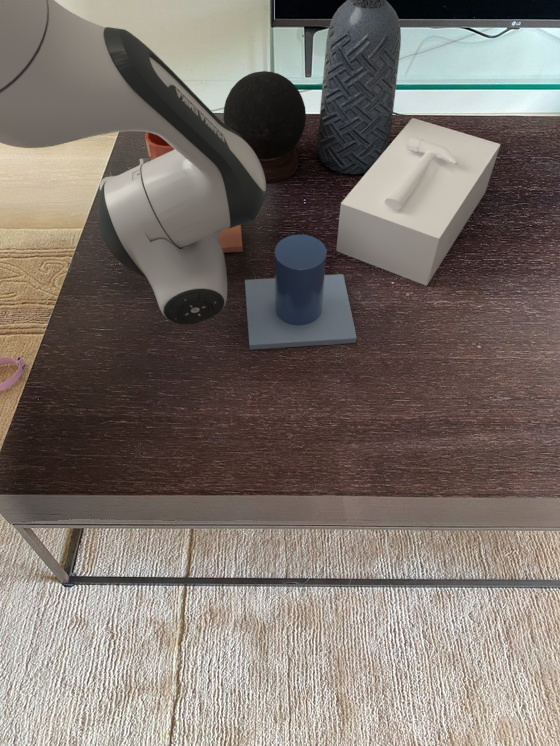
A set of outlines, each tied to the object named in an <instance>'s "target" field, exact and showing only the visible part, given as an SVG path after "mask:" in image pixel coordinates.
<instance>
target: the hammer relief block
mask: <svg viewBox="0 0 560 746" xmlns="http://www.w3.org/2000/svg"><path fill="white" fill-rule="evenodd" d="M500 147H501V143H498V142H494V141H492V140H488V139H484V138H481V137H478V136H475V135H471V134H469V133H465V132H462V131H458V130H454V129H451V128H448V127H444V126H441V125H438V124H434V123H431V122H428V121H425V120H421V119H418V118H415V117H412V118H411V119H410V120H409V121H408V122H407V124H406V125H405V126H404V127H403V128H402V130H401V131H400V132H399V133H398V134H397V136H396V137H395V138H394V139H393V140H392V142H391V143H389V146H388V148H387V149H386V150H385V151H384V152H383V154H382V155H381V156H380V157H379V158H378V160H377V161H376V162H375V163H374V164H373V165H372V167H371V168H370V169H369V170H368V171H367V173H364V175H363V176H362V177H361V178H360V179H359V181H358V182H357V183H356V184H355V185H354V186H353V188H352V189H351V190H350V192H349V193H347V195H346V196H345V197H344V198H343V200H342V201H341V202H340V206H339V218H338V227H337V228H338V229H337V239H336V249H335V251H336V252H338V253H340V254H343V255H345V256H348V257H351V258H353V259H356V260H359V261H361V262H364V263H366V264H368V265H372V266H373V267H377V268H379V269H382V270H383V271H384V270H385V271H387V272H389V273H392V274H395V275H397V276H400V277H402V278H405V279H408V280H410V281H413V282H415V283H418V284H420V285H423V286H426V287H427V286H428V285H429V283H430V281H431V280H432V278H433V277H434V275H435V274H436V271H437V270H438V269H439V267H441V264H442V262H443V261H444V259H445V258H446V256H447V254H448V253H449V252H450V250H451V248H452V246H453V245H454V243H455V241H456V240H457V238H458V237H459V235H460V234H461V232H462V230H463V229H464V227H465V226H466V224H467V223H468V222H469V219H470V218H471V216H472V215H473V213H474V211H475V210H476V208H477V206H479V203H480V202H481V200H482V199H483V197H484V195H485V194H486V192H487V189H488V186H489V183H490V180H491V177H492V173H493V170H494V166H495V163H496V161H497V157H498V154H499V152H500Z"/></svg>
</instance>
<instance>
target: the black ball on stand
mask: <svg viewBox="0 0 560 746" xmlns="http://www.w3.org/2000/svg"><path fill="white" fill-rule="evenodd" d="M306 112H307V111H306V106H305V102H304V99H303V96H302V95H301V92H300V90H299V89H298V88H297V87H296V85H295V84H294V83H293V82H292V81H291V80H290V79H289V78H287V77H286V76H284V75H282V74H280V73H277V72H274V71H268V70H262V71H255V72H251V73H248V74H247V75H244V76H243V77H242V78H241V79H239V80H238V81H237V82H236V83H235V84H234V85H233V86H232V88H231V89H230V90H229V93H228V95H227V97H226V99H225V102H224V106H223V123H224V124H225V125H226V126H228V127H229V128H231V129H232V130H234V131H235V132H237V133H238V134H239V135H240V136H241V137H242V138H243V139H244V140H245V142H247V144H248V145H249V146H250V147H251V148H252V149H253V151H254V152H255V154H256V156H257V157H258V159H259V161H260V164H261V166H262V169H263V172H264V175H265V180H266V184H270V183H276V182H281V181H283V180H287V179H288V178H289V177H291V176H293V175H294V174H296V171H297V170H298V169H299V155H298V152H297V150H296V149H294V148H295V147H296V146H297V144H298V143H299V142H300V140H301V138H302V136H303V134H304V130H305V128H306V121H307V113H306Z"/></svg>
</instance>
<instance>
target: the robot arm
mask: <svg viewBox="0 0 560 746" xmlns="http://www.w3.org/2000/svg"><path fill="white" fill-rule="evenodd" d="M124 132H143V133H144V132H145V133H146V132H150V133H153V134H156V135H158V136H160V137H161V138H162V139H164V140H165V141H166V142H167V143H168V144H169V145H171V146H172V147H173V148H174V150H172V151H170V152H168V153H166V154H164V155H162V156H159V157H157V158H155V159H153V160H151V161H150V159H149V157H147V158H146V157H145V158H144V157H143V158H139V165H137V166H135V167H132V168H130V169H128V170H126V171H124V172H123V173H120V174H118V175H112V176H111V175H110V176H105V177H103V178H102V179H101V180H100V181H99V182H98V183H99V186H98V187H99V194H98V200H97V211H96V212H97V213H96V215H97V223H98V227H99V231H100V235H101V237H102V239H103V241H104V244H105V245H106V247H107V249H108V250H109V251H110V253H111V254H112V255H113V257H114V258H116V260H117V261H118V262H119V263H120V264H122V265H123V266H124V267H126V268H127V269H129V270H130V271H132V272H134V273H135V274H137V275H139V276H141V277H143V278H145V279H147V281H148V282H149V285H150V287H151V289H152V291H153V294H154V297H155V299H156V302H157V305H158V308H159V310H160V312H161V314H162V316H164V317H165V319H166V320H168V321H169V322H171V323H174V324H178V325H195V324H198V323H201V322H205V321H207V320H209V319H211V318H214V317H215V316H217V315H218V314H220V313H221V312H222V310H223V309H224V308H225V306H226V303H227V299H228V275H227V274H228V273H227V266H226V258H225V253H223V250H222V248H221V246H220V244H219V238H220V237H219V232H220V231H222V230H224V229H226V228H232V227H235V226H238V225H241V226H242V225H244V224H247V223H249V222H253V221H255V219H256V218H257V216H258V215H259V212H260V210H261V209H262V207H263V205H264V203H265V200H266V197H267V193H268V187H267V183H266V180H265V175H264V172H263V169H262V166H261V164H260V161H259V159H258V157H257V156H256V154H255V152H254V151H253V149H252V148H251V147H250V146H249V145H248V144H247V142H245V140H244V139H243V138H242V137H241V136H240V135H239V134H238V133H237V132H235V131H234V130H232V129H231V128H229V127H228V126H226V125H225V124H224V121H221V119H220V118H219V117H217V115H216V114H215V113H214V112H213V111H212V110H211V109H210V108H209V107H208V106H207V105H206V104H205V103H204V102H203V101H202V100H201V99H200V98H199V97H198V95H197V94H196V93H194V92H193V91H192V89H191V88H190V87H189V86H188V85H187V84H186V83H185V82H184V81H183V80H182V79H181V78H180V77H179V76H178V75H177V74H176V73H175V72H174V71H173V70H172V69H171V68H170V67H169V65H167V64H166V62H164V60H162V59H161V58H160V57H159V56H158V55H157V54H156V53H155V52H154V51H153V50H152V49H151V48H150V47H148V46H147V45H146V44H145V42H143V41H142V40H140V38H138V37H137V36H136V35H134V34H133V33H132V32H130V31H129V30H127V29H124V28H117V27H110V26H106V27H105V26H102V25H99V24H96V23H94V22H92V21H90V20H87V19H85V18H83V17H81V16H79V15H77V14H75V13H73V12H72V11H70V10H68V8H65V7H64V6H63V5H61V4H60V3H59V2H58V1H56V0H0V144H4V145H6V146H10V147H15V148H21V149H41V148H50V147H55V146H59V145H63V144H67V143H72V142H75V141H80V140H84V139H88V138H92V137H97V136H103V135H107V134H115V133H124Z"/></svg>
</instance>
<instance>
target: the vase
mask: <svg viewBox="0 0 560 746" xmlns="http://www.w3.org/2000/svg"><path fill="white" fill-rule="evenodd" d="M328 26H329V27H328V31H327V36H326V43H325V55H324V65H323V75H322V88H321V96H320V98H321V99H320V108H319V119H318V129H317V130H318V131H317V140H316V141H317V142H316V145H317V146H316V152H317V157H318V159H319V161H320V162H321V163H322V165H324V166H325V167H326V168H328V169H330V170H332V171H334V172H337V173H340V174H345V175H363V174H364V175H365V174H366V173H367V171H368V170H369V169H370V168H371V167H372V165H373V164H374V163H375V162H376V161H377V160H378V158H379V157H380V156H381V155H382V154H383V152H384V151H385V150H386V149H387V148H388V146H389V145H390V144H391V143H390V142H391V133H392V124H393V116H394V107H395V97H396V89H397V81H398V72H399V64H400V55H401V48H402V47H401V44H402V28H401V23H400V18H399V16H398V14H397V12H396V10H395V9H394V7H393V6H392V5H391V4H390V3H389V1H387V0H345V2H343V3H342V4H341V5H340V6H339V7H338V8H337V10H336V11H335V13H334V14H333V15H332V18H331V21H330V23H329V25H328Z"/></svg>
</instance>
